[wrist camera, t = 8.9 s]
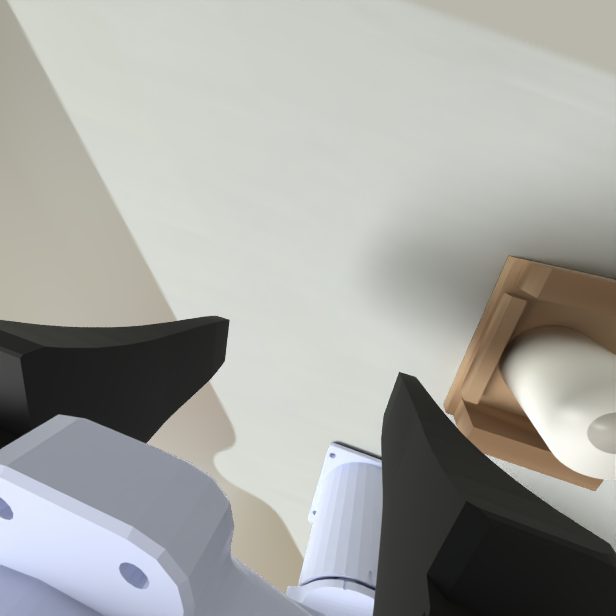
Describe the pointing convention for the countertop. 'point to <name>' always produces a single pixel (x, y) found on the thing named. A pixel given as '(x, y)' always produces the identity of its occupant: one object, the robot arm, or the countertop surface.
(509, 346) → the paper roll
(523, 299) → the holder
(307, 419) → the countertop surface
